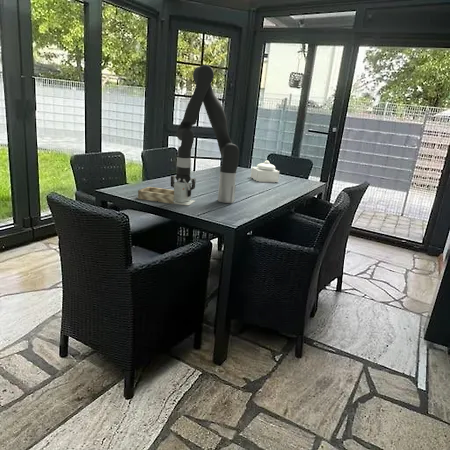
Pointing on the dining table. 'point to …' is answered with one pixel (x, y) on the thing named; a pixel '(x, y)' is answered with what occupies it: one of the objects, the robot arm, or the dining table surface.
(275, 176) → the butter dish
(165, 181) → the dining table surface
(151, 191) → the beige piece
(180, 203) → the mat
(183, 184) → the small box
